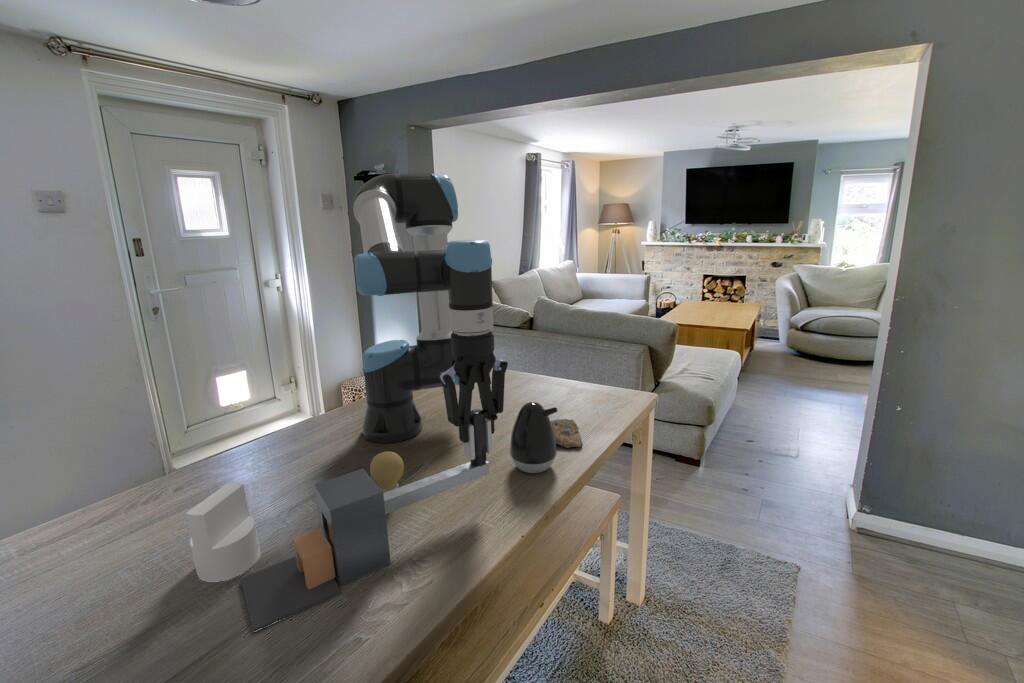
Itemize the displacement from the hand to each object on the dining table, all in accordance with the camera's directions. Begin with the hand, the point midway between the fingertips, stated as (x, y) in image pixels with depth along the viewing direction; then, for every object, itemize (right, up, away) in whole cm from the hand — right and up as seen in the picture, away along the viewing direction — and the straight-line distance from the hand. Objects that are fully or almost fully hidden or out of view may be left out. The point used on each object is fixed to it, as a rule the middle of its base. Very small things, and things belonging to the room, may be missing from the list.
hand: (478, 453), depth 89 cm
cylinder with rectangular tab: (-40, -16, -11) cm, 44 cm away
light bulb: (-18, -11, +6) cm, 22 cm away
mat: (-27, -17, -16) cm, 36 cm away
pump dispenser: (+11, -7, +16) cm, 21 cm away
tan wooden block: (-24, -15, -14) cm, 32 cm away
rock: (+19, -4, +29) cm, 35 cm away
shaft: (-10, -6, -6) cm, 14 cm away
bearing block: (-19, -15, -11) cm, 26 cm away
